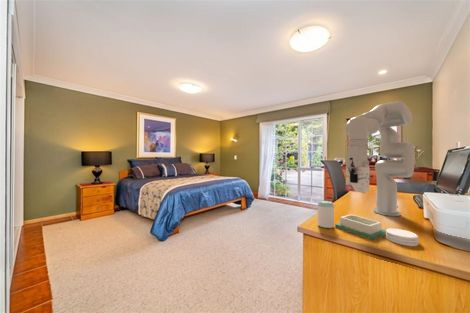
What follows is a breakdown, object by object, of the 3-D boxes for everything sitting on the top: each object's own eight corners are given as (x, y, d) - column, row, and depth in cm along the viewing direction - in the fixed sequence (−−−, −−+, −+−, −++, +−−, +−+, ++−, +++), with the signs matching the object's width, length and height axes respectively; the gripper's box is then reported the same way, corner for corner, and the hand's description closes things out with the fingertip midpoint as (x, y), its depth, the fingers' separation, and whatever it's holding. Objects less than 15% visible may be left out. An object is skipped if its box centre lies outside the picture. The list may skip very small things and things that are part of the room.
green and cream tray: (349, 222, 98) (349, 213, 98) (386, 234, 84) (386, 222, 84) (335, 227, 92) (335, 216, 92) (372, 240, 78) (372, 227, 78)
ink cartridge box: (345, 190, 93) (345, 160, 93) (350, 189, 96) (350, 160, 96) (364, 193, 86) (365, 160, 86) (369, 192, 88) (370, 160, 89)
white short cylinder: (425, 247, 72) (425, 238, 72) (396, 246, 73) (396, 236, 73) (405, 236, 82) (405, 228, 82) (380, 235, 83) (380, 227, 83)
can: (334, 225, 94) (334, 201, 94) (333, 230, 88) (333, 204, 88) (319, 222, 98) (319, 199, 98) (316, 227, 92) (316, 202, 92)
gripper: (359, 145, 98) (359, 180, 98) (338, 143, 90) (338, 182, 90) (376, 144, 91) (375, 182, 91) (355, 142, 83) (354, 184, 83)
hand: (357, 181), depth 91 cm, fingers closed on ink cartridge box, 5 cm apart
